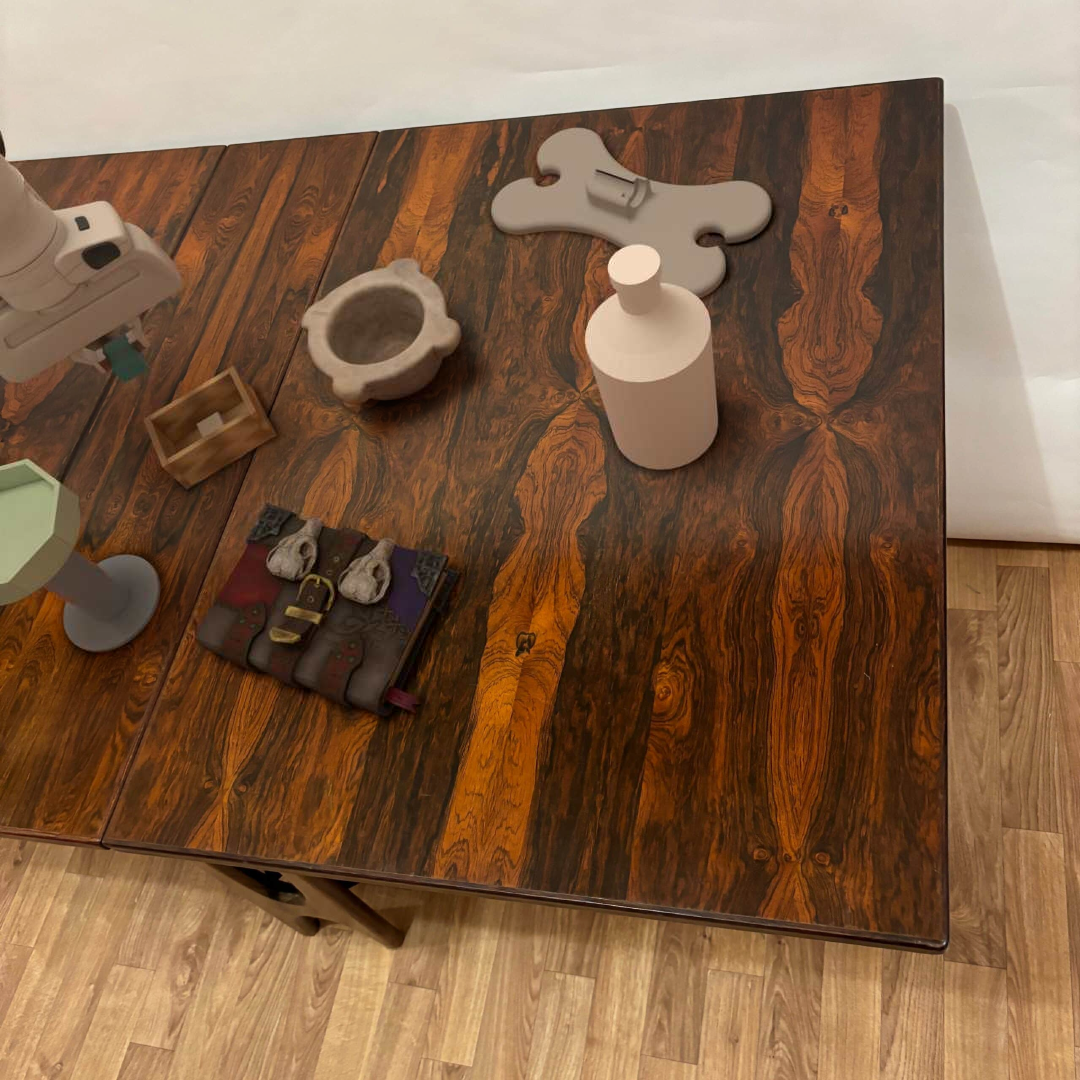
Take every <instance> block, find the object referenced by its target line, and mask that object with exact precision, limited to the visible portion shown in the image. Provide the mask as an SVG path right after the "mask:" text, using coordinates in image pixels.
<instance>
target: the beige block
mask: <svg viewBox="0 0 1080 1080" xmlns="http://www.w3.org/2000/svg"><path fill="white" fill-rule="evenodd" d="M225 424H227V422H226V420H225V419H224V418H223V417H222V416H221V415H220V414H219V413H218V412H216V413H214V414H213V415H211V416H209V417H208V418H206V419H204V420H203V421H201V422H199V423H198V424H197V426H198V429H199V431H200V433H201V435H202V438H203V437H205V436H207V435H208V434H210V433H212V432H213V431H215V430H217V429H218V428H220V427H222V426H223V425H225Z"/></svg>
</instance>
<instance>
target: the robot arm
mask: <svg viewBox="0 0 1080 1080" xmlns="http://www.w3.org/2000/svg"><path fill="white" fill-rule="evenodd" d="M6 155H7V153H6V145H5V140H4V137H3V134H2V131H1V130H0V377H2V378H3V380H5V381H7V382H8V383H13V384H14V383H15V384H23V383H26V382H27V381H29V380H30V379H32V378H34V377H36V376H38V375H39V374H40V373H42V372H44V371H46V370H48V369H49V368H51V367H52V366H54V365H56V364H58V363H59V362H61V361H63V360H65V359H66V358H68V357H69V358H70V360H71V361H73V362H75V363H79V364H84V365H87V366H94V368H96V369H97V370H98V371H99V372H100V373H101V374H102V375H104V374H106V373H107V372H110V371H111V370H113V369H112V367H111V364H110V362H109V359H108V356H107V354H106V351H105V349H104V348H102V347H100V348H98V349H97V350H92V349H89V348H86V346H88V345H89V344H92V343H93V342H95V341H96V340H98V339H100V338H101V337H103V336H105V335H107V334H108V333H111V332H112V331H113V330H115V329H118V328H119V327H120V326H122V325H123V324H125V326H127V328H128V329H130V328H131V330H129V331H126V332H127V333H126V332H125V333H126V337H127V338H128V342H129V344H130V345H131V346H132V347H133V348H135V349H136V351H137V352H141V351H142V352H143V351H144V350H146V349H148V348H150V347H151V344H150V341H149V339H148V338H147V336H146V334H144V333H143V328H142V327H143V326H142V321H141V318H140V316H139V315H141V314H142V313H144V312H146V311H148V310H149V309H151V308H152V307H154V306H156V305H158V304H160V303H161V302H163V301H164V300H166V299H168V298H170V297H171V296H173V295H175V294H177V293H178V292H179V291H181V289H182V283H183V278H182V275H181V272H180V271H179V269H178V267H177V265H176V264H175V262H174V261H173V260H172V258H171V257H170V256H169V255H168V253H166V251H165V250H164V249H163V248H162V247H161V246H160V244H158V243H157V242H156V241H155V240H154V239H153V238H152V237H151V236H150V235H149V234H148V233H147V232H145V231H144V230H143V229H141V228H140V227H139V226H137V225H136V224H134V223H131V222H126V221H123V220H122V218H121V215H119V213H118V211H116V209H115V207H114V206H113V205H112V204H111V203H110V202H108V201H106V200H98V201H93V202H89V203H85V204H81V205H77V206H72V207H67V208H61V209H55V210H53V209H50V208H51V207H50V206H49V207H50V208H49V207H47V206H46V205H45V204H43V203H42V202H40V201H38V200H37V199H36V198H34V197H33V196H32V195H31V194H30V192H29V191H28V189H27V188H26V186H25V184H24V181H23V179H22V178H21V176H20V175H19V174H18V172H17V171H16V170H15V169H14V168H13V167H12V166H13V165H12V164H11V163H10V162H9V161H8V160H7V159H6ZM11 165H12V166H11Z"/></svg>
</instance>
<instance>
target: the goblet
mask: <svg viewBox="0 0 1080 1080" xmlns="http://www.w3.org/2000/svg"><path fill="white" fill-rule="evenodd" d="M81 521H82V515H81V508H80V496H78V495H77V494H76V493H74V492H73V491H72V490H70V489H69V488H68V487H67V486H65V485H64V484H62V483H61V482H60V481H59V480H57V479H56V478H54V477H53V476H52V475H51V474H49V473H48V472H47V471H46V470H44V469H43V468H42V467H40V466H38V465H37V464H36V463H34V462H33V461H32V460H30V459H29V458H25V459H21V460H17V461H15V462H11V463H7V464H4V465H0V606H5V605H11V604H13V603H16V602H18V601H21V600H23V599H25V598H27V597H29V596H30V595H32V594H34V593H35V592H37V591H39V589H41V588H43V589H45V590H46V591H48V592H50V593H51V594H53V595H55V596H56V597H58V598H60V599H62V600H63V601H65V605H64V608H63V617H62V619H63V628H64V631H65V633H66V636H67V637H68V639H69V640H70V641H71V643H72V644H74V645H75V646H76V647H78V648H80V649H82V650H84V651H87V652H92V653H104V652H109V651H112V650H115V649H117V648H120V647H122V646H123V645H126V644H128V643H129V642H130V641H131V640H133V639H134V638H135V637H137V635H139V634H140V633H141V632H142V631H143V630H144V629H145V627H146V626H147V625H148V623H150V621H151V619H152V617H153V616H154V614H155V612H156V609H157V607H158V605H159V600H160V596H161V580H160V577H159V574H158V572H157V570H156V568H155V567H154V566H153V565H152V564H151V563H150V561H148V560H146V559H144V558H143V557H141V556H139V555H134V554H119V555H114V556H111V557H108V558H105V559H103V560H101V561H99V562H98V563H95V562H94V561H92V560H91V559H89V558H88V557H86V556H85V555H84V554H82V553H80V552H79V551H77V550H76V549H75V546H76V543H77V541H78V537H79V534H80V531H81V523H82V522H81Z"/></svg>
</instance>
